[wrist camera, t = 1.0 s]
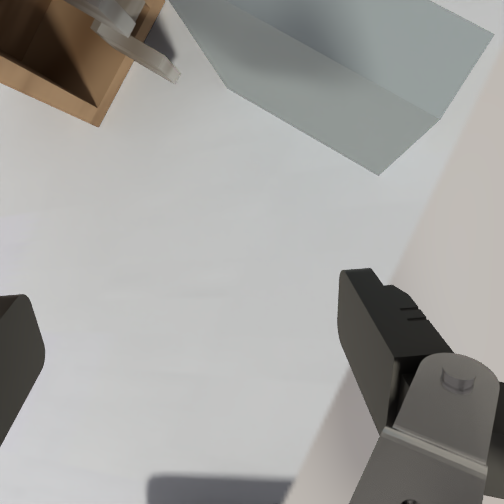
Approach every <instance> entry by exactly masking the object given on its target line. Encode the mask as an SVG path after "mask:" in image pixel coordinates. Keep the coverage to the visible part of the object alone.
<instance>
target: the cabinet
mask: <svg viewBox="0 0 504 504" xmlns="http://www.w3.org/2000/svg"><path fill="white" fill-rule="evenodd" d="M164 3H165V0H0V83H2V84H4V85H6V86H9V87H11V88H13V89H15V90H17V91H20V92H22V93H24V94H26V95H28V96H31V97H33V98H35V99H37V100H39V101H42V102H44V103H46V104H48V105H50V106H52V107H55V108H57V109H59V110H61V111H63V112H66V113H68V114H70V115H72V116H74V117H77V118H79V119H81V120H83V121H85V122H88V123H90V124H92V125H94V126H96V127H99V126H100V124H101V122H102V120H103V118H104V116H105V114H106V113H107V111H108V109H109V107H110V105H111V103H112V101H113V99H114V97H115V96H116V94H117V92H118V90H119V88H120V86H121V84H122V82H123V80H124V79H125V77H126V75H127V73H128V71H129V69H130V67H131V65H132V63H133V61H136V62H138V63H139V64H141V65H143V66H145V67H146V68H148V69H150V70H151V71H153V72H155V73H156V74H158V75H160V76H162V77H163V78H165V79H167V80H168V81H170V82H172V83H173V84H176V82H177V80H178V78H179V76H180V75H181V73H180V72H179V71H178V70H177V68H176V67H175V66H174V65H173V64H172V63H171V62H170V61H169V60H168V58H167V57H166V56H165V55H163V54H162V53H160V52H158V51H156V50H155V49H153V48H151V47H149V46H148V45H146V44H144V41H145V39H146V37H147V35H148V33H149V31H150V29H151V27H152V25H153V24H154V22H155V20H156V18H157V16H158V14H159V12H160V10H161V8H162V7H163V5H164Z"/></svg>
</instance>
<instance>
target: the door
mask: <svg viewBox="0 0 504 504" xmlns="http://www.w3.org/2000/svg"><path fill="white" fill-rule="evenodd" d="M169 1H170V3H171V4H172V6H173V7H174V9H175V10H176V12H177V13H178V15H179V16H180V18H181V19H182V21H183V22H184V24H185V25H186V27H187V28H188V30H189V31H190V33H191V34H192V36H193V37H194V39H195V40H196V42H197V43H198V45H199V46H200V48H201V49H202V51H203V52H204V54H205V55H206V57H207V58H208V60H209V61H210V63H211V64H212V66H213V67H214V69H215V70H216V72H217V73H218V75H219V76H220V78H221V79H222V81H223V82H224V84H225V86H226V87H227V88H228V89H229V90H231V91H233V92H235V93H236V94H238V95H240V96H242V97H243V98H245V99H247V100H248V101H250V102H252V103H254V104H255V105H257V106H259V107H260V108H262V109H264V110H266V111H267V112H269V113H271V114H273V115H274V116H276V117H278V118H279V119H281V120H283V121H285V122H286V123H288V124H290V125H292V126H293V127H295V128H297V129H298V130H300V131H302V132H304V133H305V134H307V135H309V136H311V137H312V138H314V139H316V140H317V141H319V142H321V143H323V144H324V145H326V146H328V147H330V148H331V149H333V150H335V151H336V152H338V153H340V154H342V155H343V156H345V157H347V158H348V159H350V160H352V161H354V162H355V163H357V164H359V165H361V166H362V167H364V168H366V169H367V170H369V171H371V172H373V173H374V174H376V175H378V176H379V175H380V174H381V173H382V172H383V171H384V170H385V169H387V168H388V167H389V166H390V165H391V164H392V163H393V162H394V161H395V160H396V159H397V158H399V157H400V156H401V155H402V154H403V153H404V152H405V151H406V150H407V149H408V148H409V147H411V146H412V145H413V144H414V143H415V142H416V141H417V140H418V139H419V138H420V137H421V136H423V135H424V134H425V133H426V132H427V131H428V130H429V129H430V128H431V127H432V126H433V125H435V124H436V123H437V122H438V121H439V120H440V119H441V117H442V116H443V114H444V113H445V111H446V109H447V108H448V106H449V105H450V103H451V102H452V100H453V99H454V97H455V95H456V94H457V92H458V91H459V89H460V88H461V86H462V84H463V83H464V81H465V80H466V78H467V77H468V75H469V74H470V72H471V70H472V69H473V67H474V66H475V64H476V63H477V61H478V59H479V58H480V56H481V55H482V53H483V52H484V50H485V49H486V47H487V45H488V44H489V42H490V41H491V39H492V38H493V36H494V34H493V33H491V32H489V31H487V30H485V29H484V28H482V27H480V26H478V25H476V24H474V23H472V22H470V21H468V20H466V19H464V18H462V17H461V16H459V15H457V14H455V13H453V12H451V11H449V10H447V9H445V8H443V7H441V6H440V5H438V4H436V3H434V2H432V1H430V0H169Z"/></svg>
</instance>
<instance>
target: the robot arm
mask: <svg viewBox="0 0 504 504" xmlns="http://www.w3.org/2000/svg"><path fill="white" fill-rule="evenodd" d="M337 325H338V334H339V339H340V343H341V345H342V348H343V350H344V352H345V355H346V357H347V359H348V362H349V364H350V367H351V369H352V371H353V374H354V376H355V378H356V381H357V383H358V386H359V388H360V390H361V393H362V394H363V397H364V400H365V402H366V405H367V407H368V409H369V412H370V414H371V416H372V419H373V421H374V423H375V426H376V428H377V430H378V433H379V435H380V437H379V439H378V441H377V444H376V446H375V448H374V450H373V452H372V454H371V457H370V459H369V461H368V463H367V466H366V468H365V470H364V472H363V474H362V476H361V479H360V481H359V483H358V485H357V487H356V490H355V492H354V494H353V496H352V499H351V501H350V503H349V504H482V500H483V495H486V496H492V497H496V498H501V499H504V383H502V382H499V381H498V379H497V377H496V376H495V374H494V373H493V372H492V371H491V370H490V369H489V368H488V367H486V366H485V365H484V364H482V363H480V362H479V361H477V360H475V359H472V358H470V357H467V356H464V355H460V354H455V353H454V352H453V351H452V350H451V348H450V347H449V346H448V345H447V343H446V342H445V341H444V339H443V338H442V337H441V336H440V334H439V333H438V332H437V330H436V329H435V328H434V327H433V325H432V324H431V323H430V321H429V320H426V316H425V315H424V314H423V313H422V311H421V310H419V309H418V306H417V305H416V303H415V302H414V301H413V300H412V299H411V297H410V296H409V295H408V294H407V293H405V292H403V291H402V290H400V289H398V288H397V287H395V286H394V285H386V286H383V284H382V283H381V281H380V280H379V279H378V277H377V276H376V274H375V273H374V272H373V270H372V269H371V268H364V269H351V270H342V271H341V273H340V277H339V296H338V317H337ZM44 360H45V347H44V343H43V339H42V336H41V333H40V330H39V327H38V324H37V320H36V317H35V314H34V311H33V308H32V304H31V302H30V300H29V298H28V297H27V296H26V295H24V294H20V295H7V296H0V446H1V444H2V443H3V441H4V439H5V437H6V435H7V433H8V431H9V430H10V428H11V426H12V424H13V422H14V420H15V418H16V417H17V415H18V413H19V411H20V409H21V407H22V405H23V404H24V402H25V400H26V398H27V396H28V394H29V392H30V391H31V389H32V387H33V385H34V383H35V381H36V379H37V378H38V376H39V374H40V372H41V370H42V368H43V365H44Z"/></svg>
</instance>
